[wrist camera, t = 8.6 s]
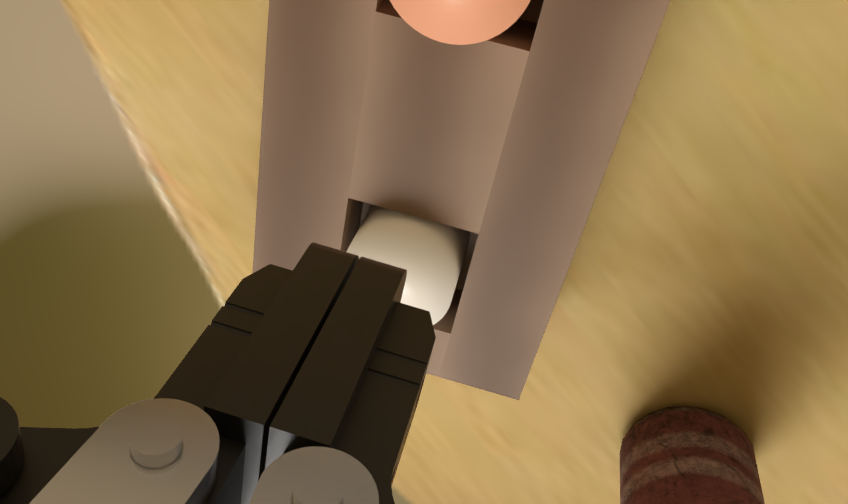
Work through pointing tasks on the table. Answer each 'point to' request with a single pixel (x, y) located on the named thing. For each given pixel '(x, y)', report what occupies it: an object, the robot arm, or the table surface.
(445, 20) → the terracotta button
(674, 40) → the table surface
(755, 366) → the table surface
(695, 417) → the can
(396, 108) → the button panel
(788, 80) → the table surface
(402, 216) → the offwhite button
